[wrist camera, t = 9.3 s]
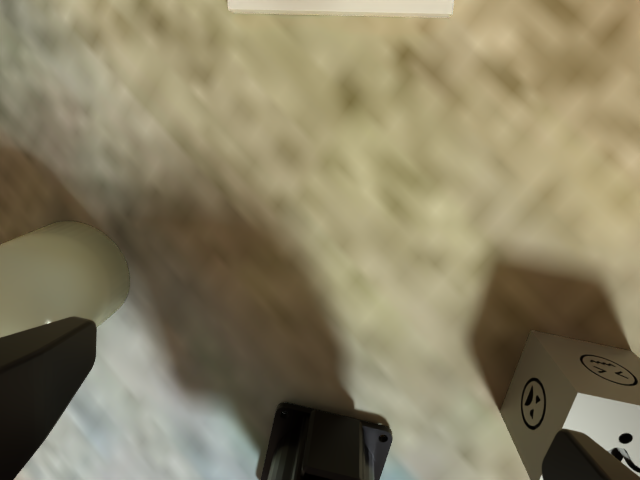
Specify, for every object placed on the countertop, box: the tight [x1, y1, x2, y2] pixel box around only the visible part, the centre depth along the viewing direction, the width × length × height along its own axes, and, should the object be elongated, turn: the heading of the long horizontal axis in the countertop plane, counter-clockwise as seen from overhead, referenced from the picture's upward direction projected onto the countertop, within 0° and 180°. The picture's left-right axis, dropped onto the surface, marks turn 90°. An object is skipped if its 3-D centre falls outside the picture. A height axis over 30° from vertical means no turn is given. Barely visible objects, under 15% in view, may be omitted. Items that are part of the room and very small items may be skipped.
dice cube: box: [500, 330, 640, 480], centre depth 20 cm, size 5×5×5 cm
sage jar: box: [0, 221, 130, 337], centre depth 21 cm, size 6×6×5 cm
